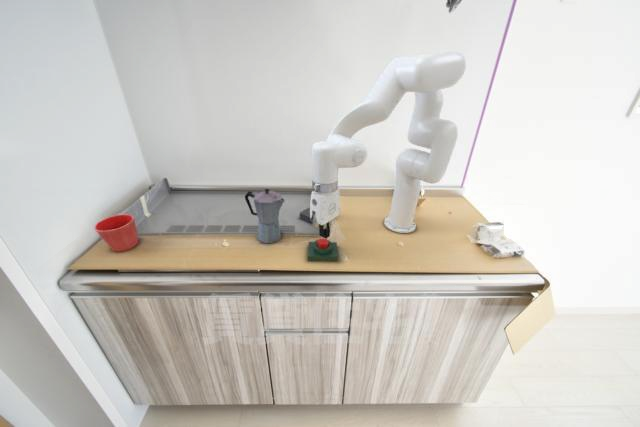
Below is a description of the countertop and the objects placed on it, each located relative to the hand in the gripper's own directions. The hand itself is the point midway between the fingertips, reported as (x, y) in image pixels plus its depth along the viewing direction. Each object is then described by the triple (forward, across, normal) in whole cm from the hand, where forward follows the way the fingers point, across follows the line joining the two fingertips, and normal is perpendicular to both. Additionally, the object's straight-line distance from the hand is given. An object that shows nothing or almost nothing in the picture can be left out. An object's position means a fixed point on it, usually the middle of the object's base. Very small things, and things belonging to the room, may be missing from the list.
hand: (324, 236), depth 80 cm
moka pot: (+7, -7, +22) cm, 24 cm away
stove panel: (+8, +17, +18) cm, 26 cm away
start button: (+4, -1, 0) cm, 4 cm away
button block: (+7, -1, 0) cm, 7 cm away
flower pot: (+6, -44, +56) cm, 71 cm away
